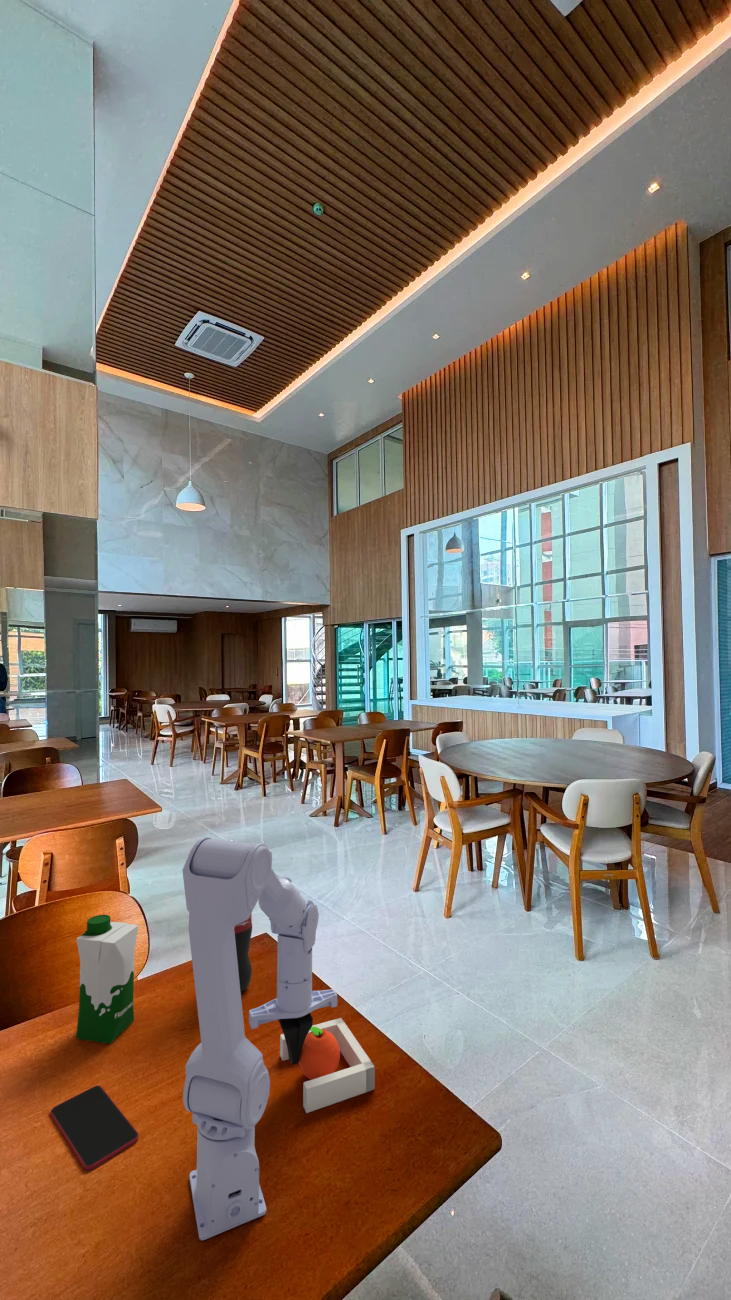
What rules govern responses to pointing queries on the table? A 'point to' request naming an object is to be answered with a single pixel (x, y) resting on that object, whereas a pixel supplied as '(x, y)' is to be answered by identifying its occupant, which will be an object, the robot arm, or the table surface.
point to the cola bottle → (243, 951)
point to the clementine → (319, 1054)
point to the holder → (342, 1081)
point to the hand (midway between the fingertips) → (293, 1060)
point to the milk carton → (106, 979)
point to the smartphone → (94, 1127)
